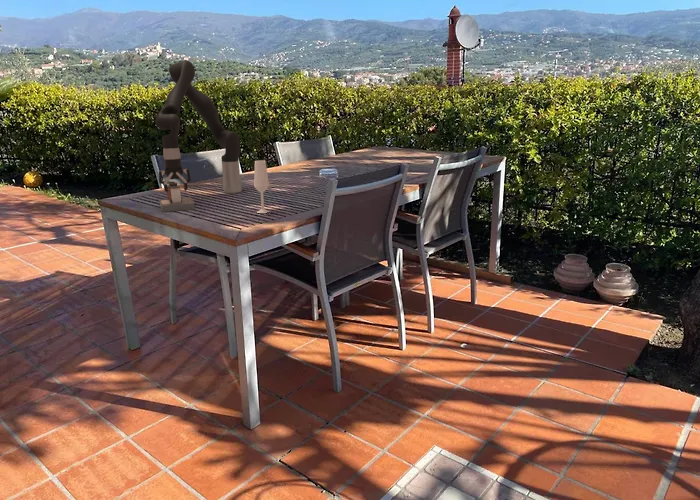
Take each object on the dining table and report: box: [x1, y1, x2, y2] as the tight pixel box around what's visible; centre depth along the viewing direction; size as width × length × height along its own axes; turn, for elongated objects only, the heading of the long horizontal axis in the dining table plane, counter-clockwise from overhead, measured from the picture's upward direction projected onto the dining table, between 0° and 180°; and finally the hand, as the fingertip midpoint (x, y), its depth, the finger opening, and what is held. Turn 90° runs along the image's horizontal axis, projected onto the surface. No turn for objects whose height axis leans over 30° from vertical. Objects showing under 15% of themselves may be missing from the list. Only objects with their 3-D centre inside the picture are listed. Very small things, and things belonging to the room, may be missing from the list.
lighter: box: [166, 180, 181, 199], centre depth 262 cm, size 8×3×10 cm, turn 71°
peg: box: [171, 188, 182, 203], centre depth 246 cm, size 4×4×9 cm
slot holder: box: [159, 196, 196, 213], centre depth 247 cm, size 15×15×3 cm
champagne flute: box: [253, 159, 270, 213], centre depth 233 cm, size 7×7×24 cm
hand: (176, 191), depth 245 cm, fingers open, 8 cm apart
